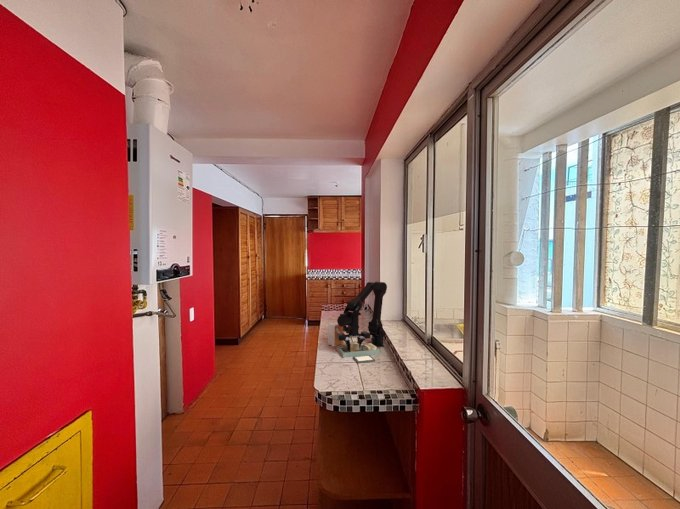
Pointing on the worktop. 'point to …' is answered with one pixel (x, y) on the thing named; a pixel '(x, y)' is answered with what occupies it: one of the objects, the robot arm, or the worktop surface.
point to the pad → (363, 359)
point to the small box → (334, 334)
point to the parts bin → (357, 353)
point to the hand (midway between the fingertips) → (353, 350)
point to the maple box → (368, 347)
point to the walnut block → (354, 346)
